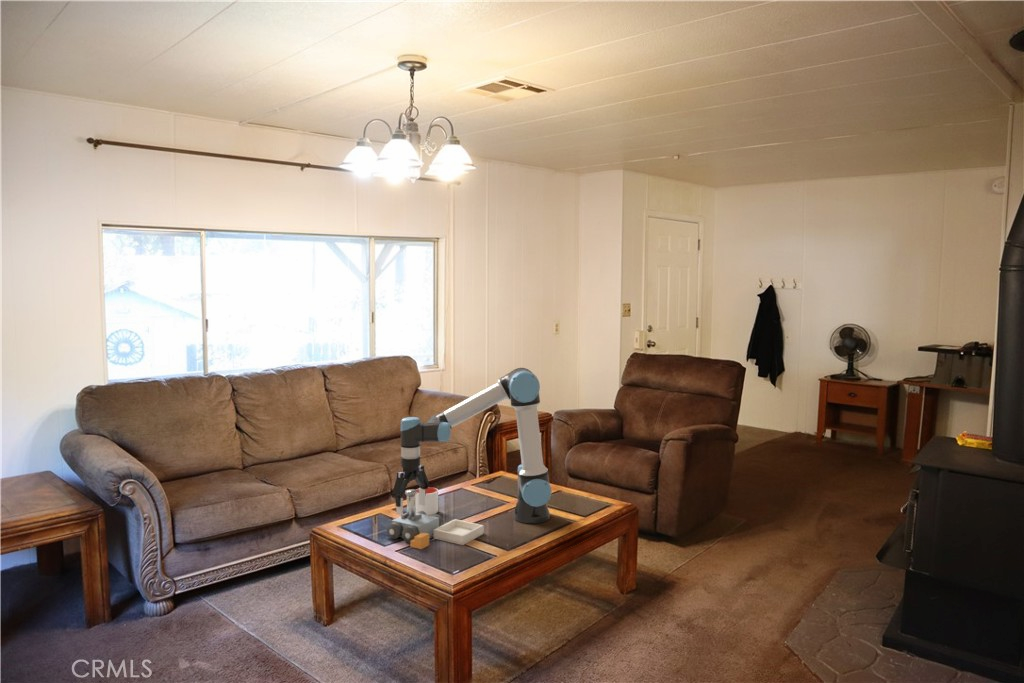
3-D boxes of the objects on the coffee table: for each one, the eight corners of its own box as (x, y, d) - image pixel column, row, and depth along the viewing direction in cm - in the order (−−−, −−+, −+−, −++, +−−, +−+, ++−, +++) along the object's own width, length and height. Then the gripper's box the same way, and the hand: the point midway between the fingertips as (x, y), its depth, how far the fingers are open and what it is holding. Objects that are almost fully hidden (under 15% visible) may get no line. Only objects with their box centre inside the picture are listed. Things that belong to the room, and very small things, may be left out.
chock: (429, 545, 256) (429, 533, 256) (420, 549, 252) (420, 537, 252) (418, 542, 259) (418, 531, 258) (410, 547, 255) (410, 535, 254)
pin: (419, 517, 269) (419, 490, 268) (412, 520, 265) (411, 493, 264) (410, 515, 272) (410, 488, 271) (403, 518, 268) (402, 491, 267)
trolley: (443, 530, 272) (443, 511, 271) (413, 545, 256) (413, 525, 255) (416, 523, 279) (416, 506, 279) (385, 538, 263) (385, 519, 263)
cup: (410, 515, 290) (410, 492, 289) (421, 508, 299) (421, 486, 298) (431, 518, 286) (431, 494, 286) (442, 510, 296) (442, 488, 295)
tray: (483, 533, 268) (483, 525, 268) (462, 545, 256) (462, 536, 256) (455, 527, 275) (454, 519, 275) (433, 538, 263) (433, 529, 263)
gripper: (423, 449, 279) (423, 499, 281) (381, 462, 258) (382, 516, 260) (437, 451, 275) (438, 502, 277) (396, 465, 254) (397, 520, 256)
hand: (411, 509), depth 268 cm, fingers open, 13 cm apart
